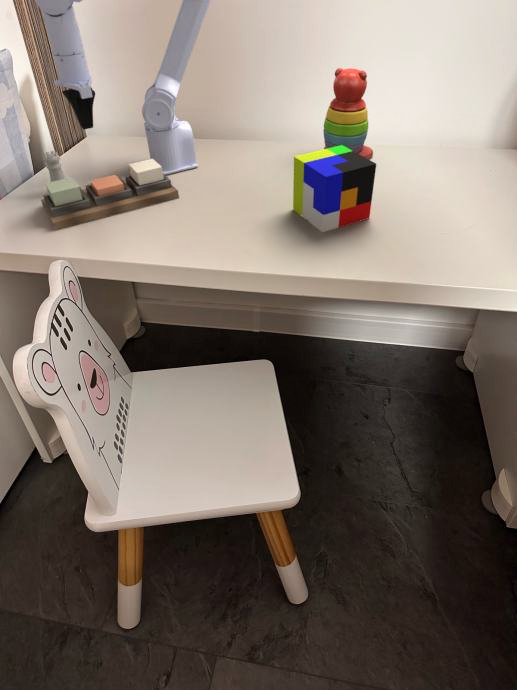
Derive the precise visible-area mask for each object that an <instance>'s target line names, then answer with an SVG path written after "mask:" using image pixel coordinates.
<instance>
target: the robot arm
mask: <svg viewBox="0 0 517 690" xmlns="http://www.w3.org/2000/svg"><path fill="white" fill-rule="evenodd" d="M34 1H35V4H36V5H37V6H38V7H39V9H41V13H42V17H43V21H44V24H45V30H46V33H47V38H48V41H49V46H50V48H51V53H52V56H53V60H54V62H55V63H54V64H55V67H56V71H57V74H58V78H59V79H55V80H53V85H54V87H63V88H67V89H64V90H63V91H61V93H62V94H63V96H64V97H65V99H66V100H67V101H68V103H69V105H70V107H71V109H72V110H73V112H74V114H75V117H76V120H77V122H78V124H79V125H80V127H81V129H82V130H87V129H93V128H94V114H93V113H94V112H93V111H94V101H95V98H96V91H95V90H94V89H93V87H92V83H93V78H92V76H91V74H90V71H89V66H88V63H87V58H86V57H87V56H86V54H85V50H84V45H83V44H84V43H83V40H82V36H81V33H80V28H79V23H78V21H77V19H76V14H75V10H74V9H75V8H74V6H73V4H74V3H80V2H82V1H83V0H34ZM211 1H212V0H182V1H181V5H180V8H179V10H178V13H177V16H176V19H175V22H174V25H173V28H172V31H171V34H170V37H169V40H168V42H167V46H166V49H165V52H164V55H163V57H162V61H161V64H160V67H159V70H158V72H157V75H156V78H155V80H154V82H153V84H152V85H150V87H149V88H148V89H147V90H146V92H145V94H144V103H143V105H142V110H141V113H142V114H141V115H142V118H143V120H144V124H143V125H144V130H145V135H146V136H145V137H146V141H147V145H148V146H147V147H148V152H149V153H148V154H149V159H154V160H155V161H156V162H157V163H158V164H159V165H160V166H161V167H162V171H163V174H165V175H166V176H168V175H169V174H170V175H171V174H175V173H178V172H182V171H186V170H190V169H195V168H198V167H199V164H198V163H197V156H196V155H197V154H196V147H195V139H194V134H193V129H192V127H191V125H190V123H189V122H188V121H187V120H179V118H177V116H176V115H175V106H176V100H177V97H178V93H179V90H180V85H181V82H182V80H183V78H184V75H185V72H186V69H187V67H188V64H189V61H190V58H191V55H192V54H193V51H194V47H195V44H196V42H197V40H198V36H199V35H200V34H199V33H200V31H201V28H202V27H203V23H204V20H205V17H206V14H207V12H208V9H209V6H210V4H211Z"/></svg>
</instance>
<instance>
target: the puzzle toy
mask: <svg viewBox="0 0 517 690" xmlns="http://www.w3.org/2000/svg"><path fill="white" fill-rule="evenodd" d="M376 169H377V163H376V162H375V161H372V160H370V159H367V158H365V157H363V156H361V155H359V154H357V153H356V152H354V151H352V150H350V149H348V148H346V147H345V146H343V145H340V146H336V147H332V148H328V149H324V148H323V149H320V150H315V151H312V152H307V153H304V154H303V153H302V154H298V155H295V156H293V187H292V188H293V189H292V191H293V193H292V194H293V195H292V197H293V199H292V201H293V203H292V210H293V209H294V210H295V211H294V210H293V211H294V212H296V213H297V212H298V213H299V214H300V215H299V214H298V213H297V214H298V215H299V216H301V215H302V216H303V217H304V218H303V217H302V216H301V217H302V218H303V219H305V220H306V219H307V220H308V221H309V222H308V221H307V220H306V221H307V222H308V223H310V224H311V225H313V226H314V227H315V228H316V229H317V230H319V231H320V232H321V233H325V232H329V231H331V230H335V229H338V228H341V227H346V226H348V225H347V224H349V225H352V224H354V222H355V223H358V222H357V221H359V222H361V221H360V220H362V221H364V220H363V219H365V220H367V219H366V218H369V217H370V215H371V210H372V209H371V208H372V202H373V201H372V200H373V194H374V185H375V176H376V171H377V170H376ZM370 218H371V217H370ZM370 218H369V219H370ZM351 223H352V224H351Z"/></svg>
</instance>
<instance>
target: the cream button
mask: <svg viewBox="0 0 517 690" xmlns="http://www.w3.org/2000/svg"><path fill="white" fill-rule="evenodd" d="M128 168H129V173H130V175H131V177H132V178H133V179H134V180H135V181H136V182H137V183H138V184H139V185H144V184H148V183H152V182H156V181H160V180H164V177H163V171H162V167H161V166H160V165H159V164H158V163H157V162H156V161H155V160H154V159H150V158H149V159H146V160H141V161H137V162H133V163H132V162H131V163H128Z"/></svg>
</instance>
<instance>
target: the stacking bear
mask: <svg viewBox="0 0 517 690" xmlns="http://www.w3.org/2000/svg"><path fill="white" fill-rule="evenodd" d="M334 76H335V78H334V80H333V87H332V88H333V94H334V96H335V97H334V98H333V99H332V100H331V101H330V103H329V106H328V109H327V111H326V115H325V119H324V123H323V137H324V138H323V140H324V147H323V149H328V148H332V147H336V146H340V145H343V146H345V147H346V148H348V149H350V150H352V151H354V152H356V153H357V154H359V155H361V156H363V157H365V158H367V159H369V160H370V159H371V158H372V157H373V156H374V151H373V149H372V147H370V146H367V145H365V141H366V139H367V135H368V131H369V119H368V116H369V113H368V108H367V104H366V101H365V100H364V99H363V97H364V95H365V93H366V90H367V88H368V87H367V85H368V81H367V77H368V74H367V73H366V71H365V70H363V69H361V70H360V69H357V68H345V69H343V68H342V67H338V68H337V69H335V71H334Z"/></svg>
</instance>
